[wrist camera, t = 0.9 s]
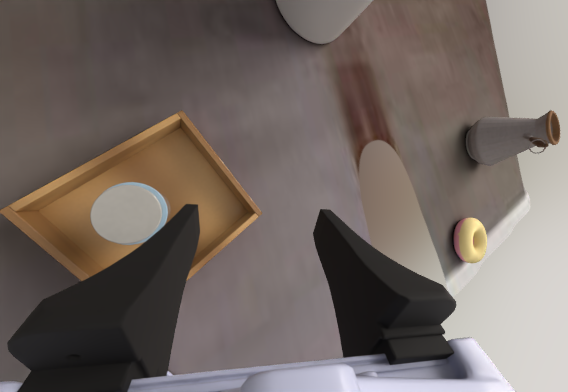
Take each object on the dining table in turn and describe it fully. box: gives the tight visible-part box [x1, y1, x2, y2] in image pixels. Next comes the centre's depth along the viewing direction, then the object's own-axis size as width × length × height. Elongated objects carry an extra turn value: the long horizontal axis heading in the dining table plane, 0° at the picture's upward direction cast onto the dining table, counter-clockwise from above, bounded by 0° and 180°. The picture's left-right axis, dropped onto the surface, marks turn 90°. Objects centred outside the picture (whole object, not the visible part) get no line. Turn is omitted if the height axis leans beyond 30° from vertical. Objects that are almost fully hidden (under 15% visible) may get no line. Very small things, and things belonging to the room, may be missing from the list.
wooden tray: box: [0, 110, 262, 281], centre depth 21 cm, size 15×13×4 cm
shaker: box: [90, 182, 171, 245], centre depth 18 cm, size 4×4×9 cm
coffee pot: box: [466, 111, 560, 166], centre depth 44 cm, size 21×12×15 cm, turn 111°
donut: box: [454, 218, 487, 263], centre depth 48 cm, size 10×5×9 cm
